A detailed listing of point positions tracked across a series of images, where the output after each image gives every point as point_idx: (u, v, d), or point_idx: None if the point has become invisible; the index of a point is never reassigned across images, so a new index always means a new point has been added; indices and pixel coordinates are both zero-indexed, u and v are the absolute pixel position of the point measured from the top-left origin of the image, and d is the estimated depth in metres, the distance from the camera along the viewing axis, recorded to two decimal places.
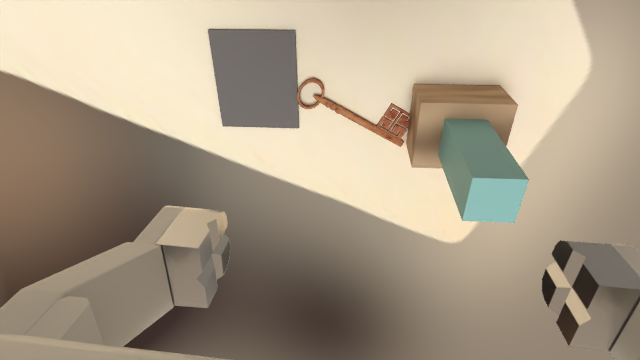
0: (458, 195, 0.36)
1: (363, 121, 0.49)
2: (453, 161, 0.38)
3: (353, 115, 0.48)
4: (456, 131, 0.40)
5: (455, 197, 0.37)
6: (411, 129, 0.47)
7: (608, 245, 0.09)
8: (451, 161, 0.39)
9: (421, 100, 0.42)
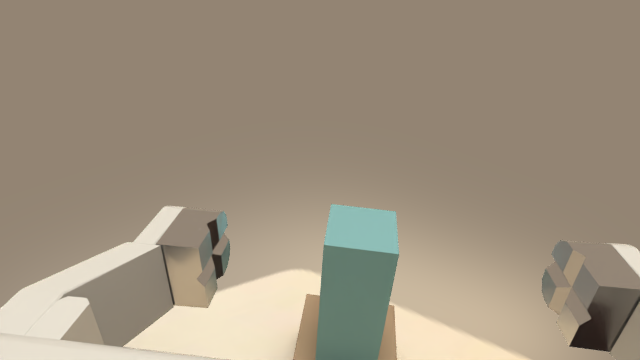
0: (376, 281, 0.24)
1: None
2: (344, 315, 0.26)
3: None
4: None
5: (386, 290, 0.25)
6: None
7: (608, 245, 0.09)
8: (350, 323, 0.27)
9: None
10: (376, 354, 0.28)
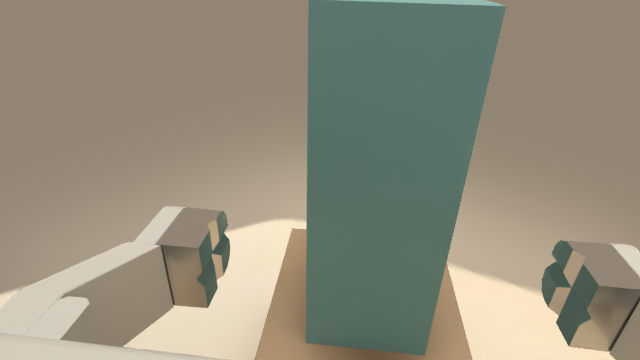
0: (440, 105, 0.10)
1: None
2: (364, 211, 0.12)
3: None
4: None
5: (463, 132, 0.10)
6: None
7: (608, 245, 0.09)
8: (377, 232, 0.12)
9: None
10: (431, 304, 0.13)
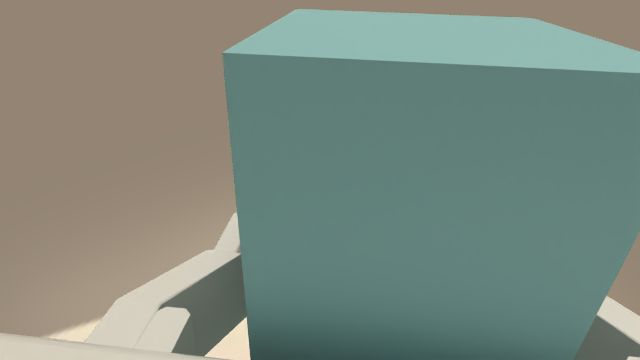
0: (521, 272, 0.05)
1: None
2: None
3: None
4: None
5: (564, 318, 0.05)
6: None
7: None
8: None
9: None
10: None
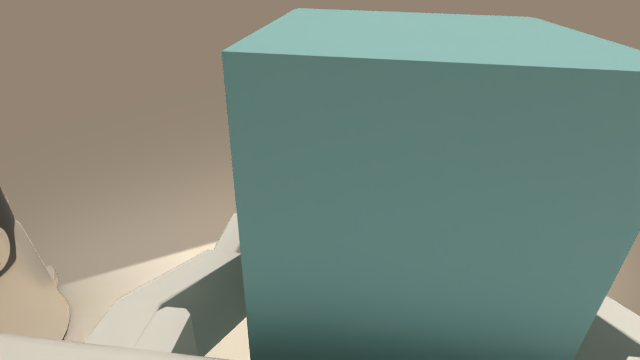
0: (521, 271, 0.05)
1: None
2: None
3: None
4: None
5: (564, 317, 0.05)
6: None
7: None
8: None
9: None
10: None
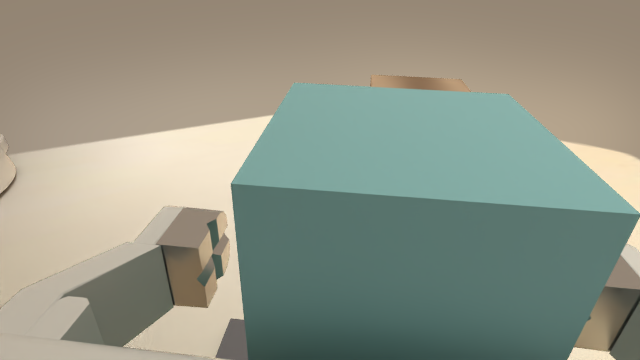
0: (488, 351, 0.05)
1: None
2: None
3: None
4: None
5: None
6: None
7: None
8: None
9: None
10: None
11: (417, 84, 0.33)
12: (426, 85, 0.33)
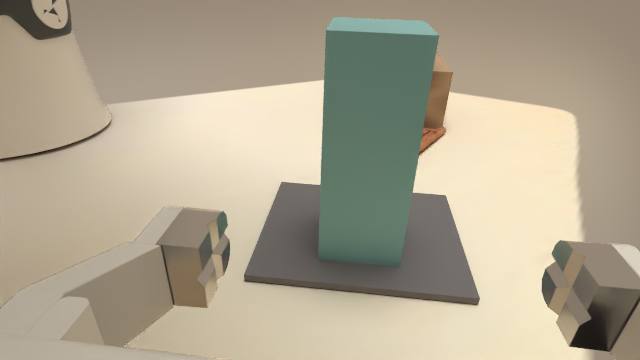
0: (404, 93, 0.17)
1: None
2: (358, 161, 0.19)
3: None
4: None
5: (418, 109, 0.17)
6: None
7: (609, 245, 0.09)
8: (366, 175, 0.19)
9: None
10: (403, 227, 0.20)
11: None
12: None
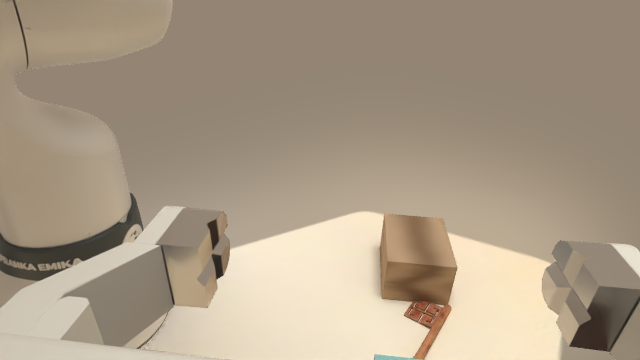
0: None
1: (427, 336, 0.43)
2: None
3: (421, 345, 0.42)
4: None
5: None
6: (424, 287, 0.47)
7: (608, 245, 0.09)
8: None
9: (386, 264, 0.46)
10: None
11: (414, 227, 0.52)
12: (420, 228, 0.52)
